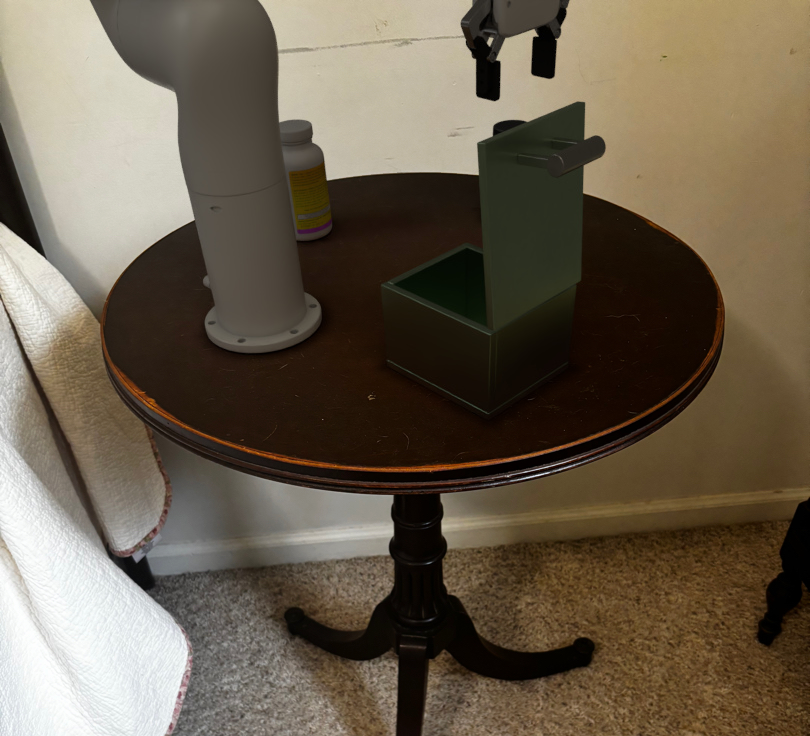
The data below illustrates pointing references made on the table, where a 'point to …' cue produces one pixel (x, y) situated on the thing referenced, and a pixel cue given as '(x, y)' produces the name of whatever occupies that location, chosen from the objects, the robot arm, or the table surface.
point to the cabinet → (471, 335)
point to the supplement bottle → (306, 180)
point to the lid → (533, 210)
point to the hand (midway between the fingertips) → (515, 87)
